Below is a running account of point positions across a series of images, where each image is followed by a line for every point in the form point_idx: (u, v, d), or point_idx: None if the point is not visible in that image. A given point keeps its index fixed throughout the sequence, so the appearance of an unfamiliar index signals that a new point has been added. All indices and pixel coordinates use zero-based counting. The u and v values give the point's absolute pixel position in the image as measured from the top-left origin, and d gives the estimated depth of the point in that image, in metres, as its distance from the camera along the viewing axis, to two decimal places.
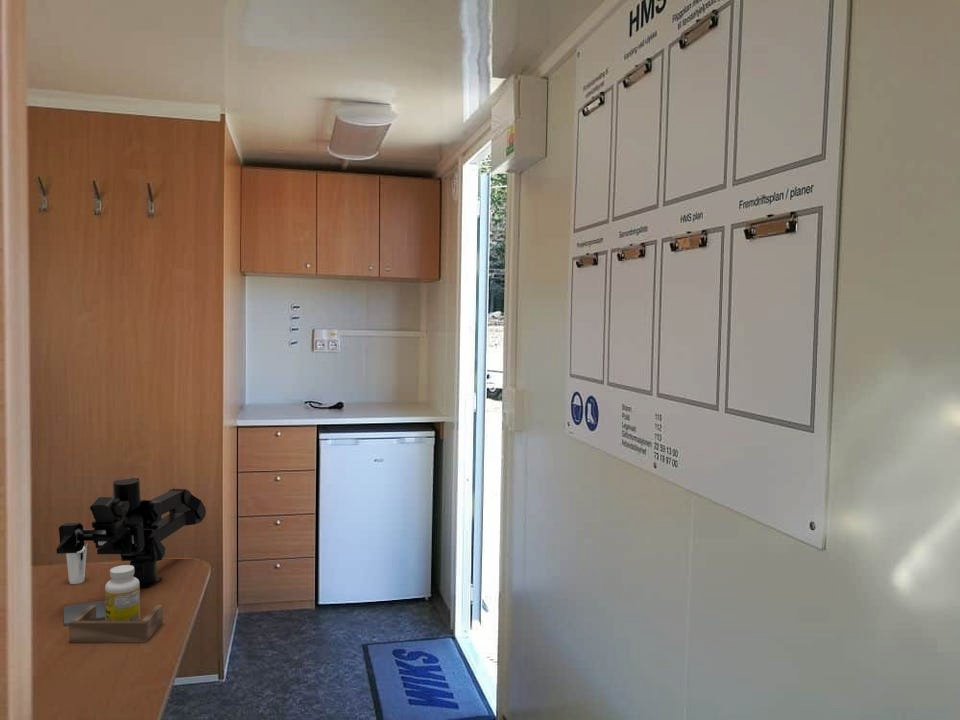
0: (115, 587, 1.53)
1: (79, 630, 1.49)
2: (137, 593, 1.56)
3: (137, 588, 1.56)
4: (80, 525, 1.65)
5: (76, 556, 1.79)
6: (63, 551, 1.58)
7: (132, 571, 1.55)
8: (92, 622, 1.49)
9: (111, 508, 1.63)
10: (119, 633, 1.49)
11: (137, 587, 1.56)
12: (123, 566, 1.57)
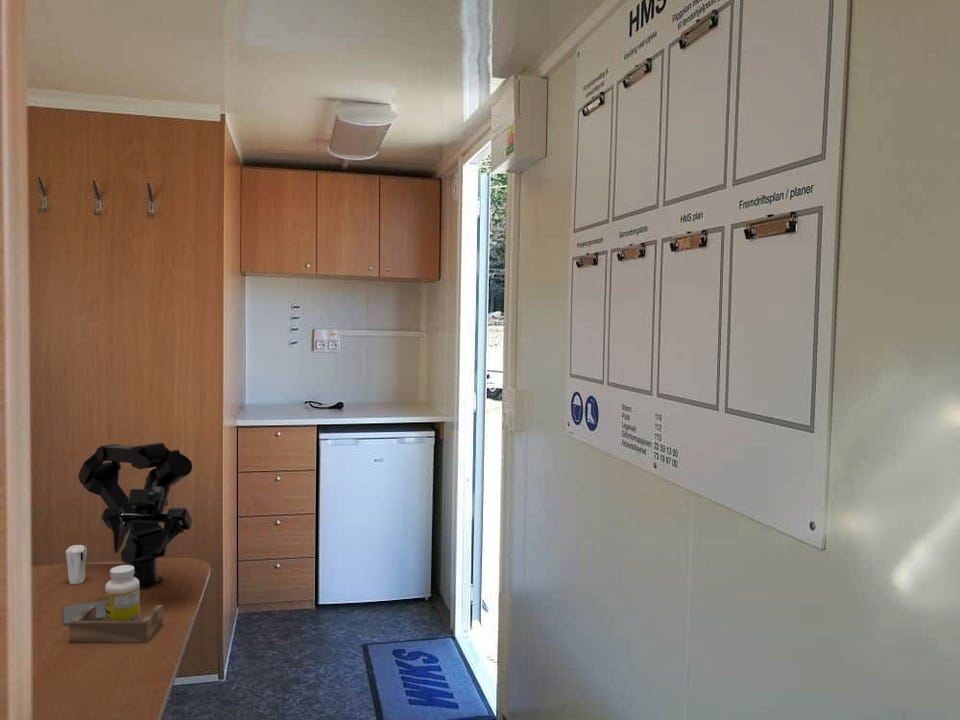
0: (115, 587, 1.53)
1: (79, 630, 1.49)
2: (137, 593, 1.56)
3: (137, 588, 1.56)
4: (121, 510, 1.68)
5: (76, 556, 1.79)
6: (119, 547, 1.65)
7: (132, 571, 1.55)
8: (92, 622, 1.49)
9: (150, 501, 1.65)
10: (119, 633, 1.49)
11: (137, 587, 1.56)
12: (123, 566, 1.57)
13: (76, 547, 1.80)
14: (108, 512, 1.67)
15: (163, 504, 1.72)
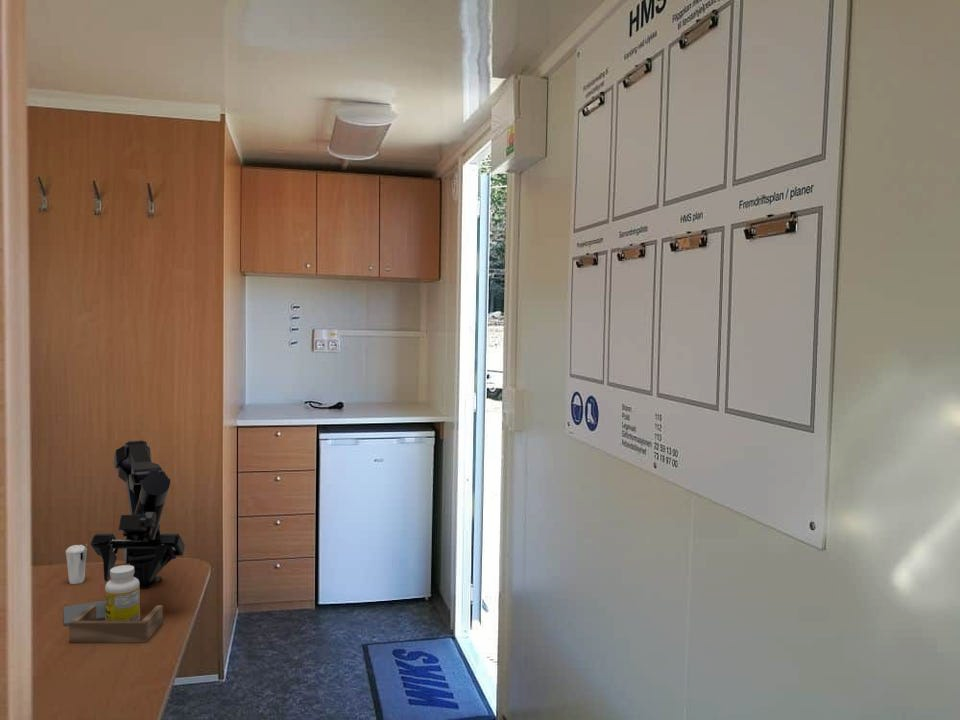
0: (115, 587, 1.53)
1: (79, 630, 1.49)
2: (137, 593, 1.56)
3: (137, 588, 1.56)
4: (111, 536, 1.62)
5: (76, 556, 1.79)
6: (109, 574, 1.60)
7: (132, 571, 1.55)
8: (92, 622, 1.49)
9: (142, 527, 1.60)
10: (119, 633, 1.49)
11: (137, 587, 1.56)
12: (123, 566, 1.57)
13: (76, 547, 1.80)
14: (98, 538, 1.61)
15: (155, 529, 1.66)
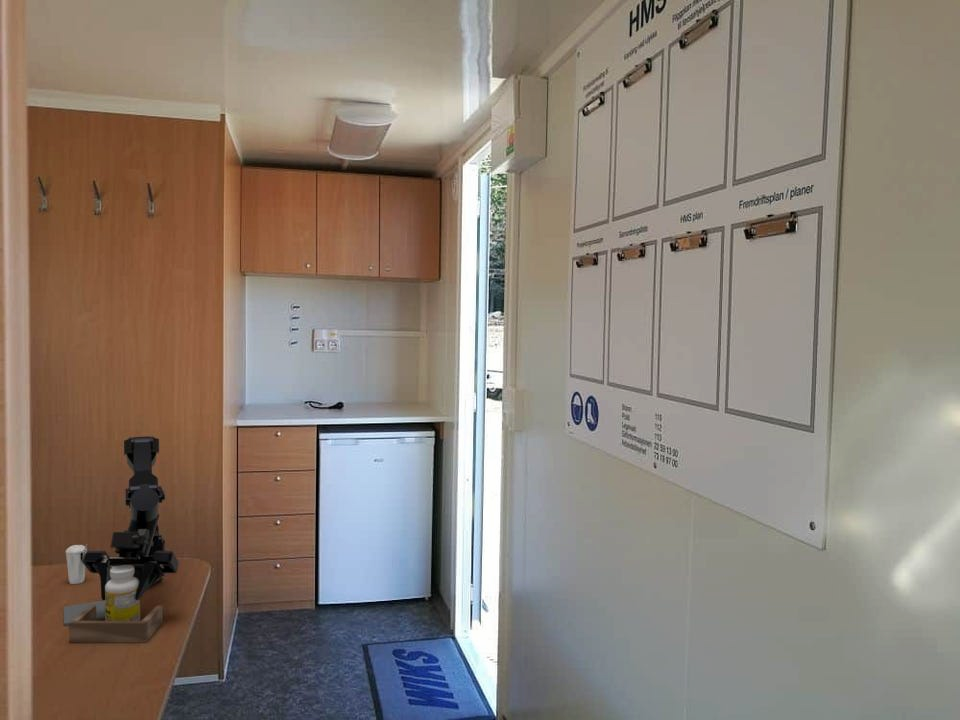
0: (115, 587, 1.53)
1: (79, 630, 1.49)
2: None
3: (137, 588, 1.56)
4: (103, 553, 1.59)
5: (76, 556, 1.79)
6: None
7: (132, 571, 1.55)
8: (92, 622, 1.49)
9: (134, 545, 1.56)
10: (119, 633, 1.49)
11: (137, 587, 1.56)
12: (123, 566, 1.57)
13: (76, 547, 1.80)
14: (89, 556, 1.57)
15: (148, 546, 1.63)
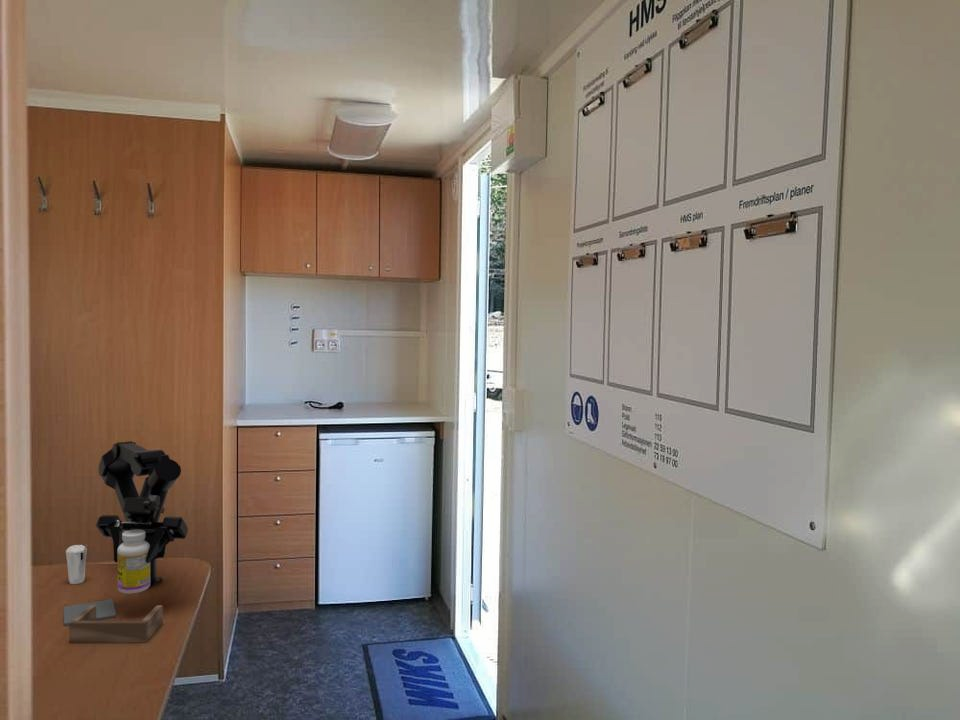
0: (127, 550, 1.59)
1: (79, 630, 1.49)
2: None
3: None
4: (116, 518, 1.65)
5: (76, 556, 1.79)
6: None
7: (143, 535, 1.62)
8: (92, 622, 1.49)
9: (145, 510, 1.62)
10: (119, 633, 1.49)
11: (148, 550, 1.62)
12: (135, 530, 1.63)
13: (76, 547, 1.80)
14: (103, 520, 1.64)
15: (159, 512, 1.69)
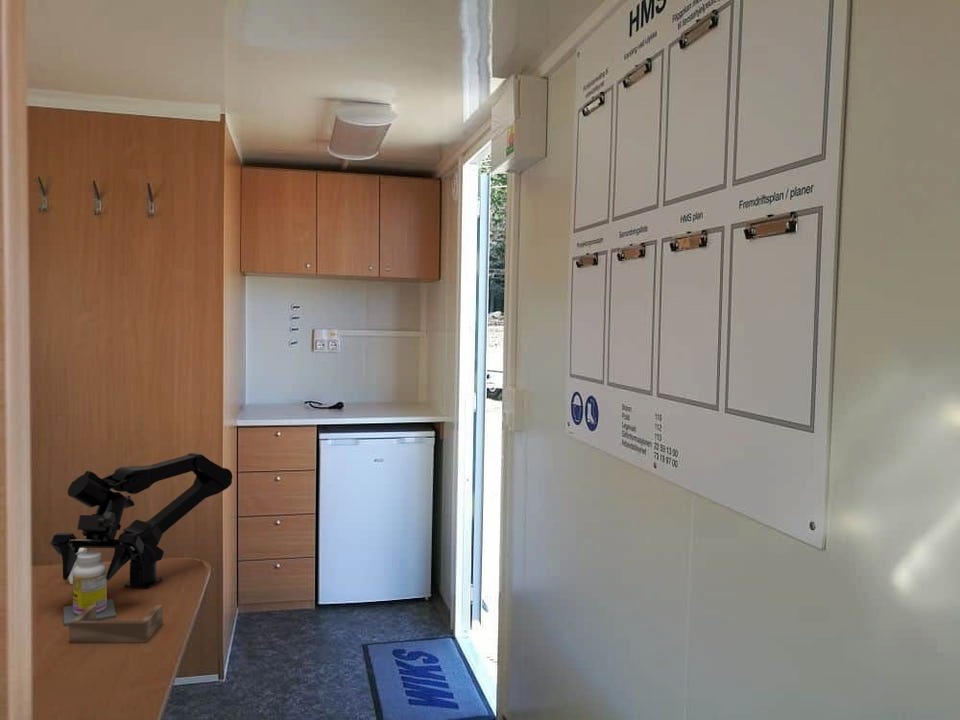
0: (82, 571, 1.60)
1: (79, 630, 1.49)
2: (103, 578, 1.63)
3: (103, 573, 1.63)
4: (70, 535, 1.65)
5: None
6: (69, 573, 1.63)
7: (99, 556, 1.62)
8: (92, 622, 1.49)
9: (100, 527, 1.63)
10: (119, 633, 1.49)
11: (103, 572, 1.63)
12: (90, 552, 1.64)
13: None
14: (57, 538, 1.64)
15: (115, 529, 1.69)
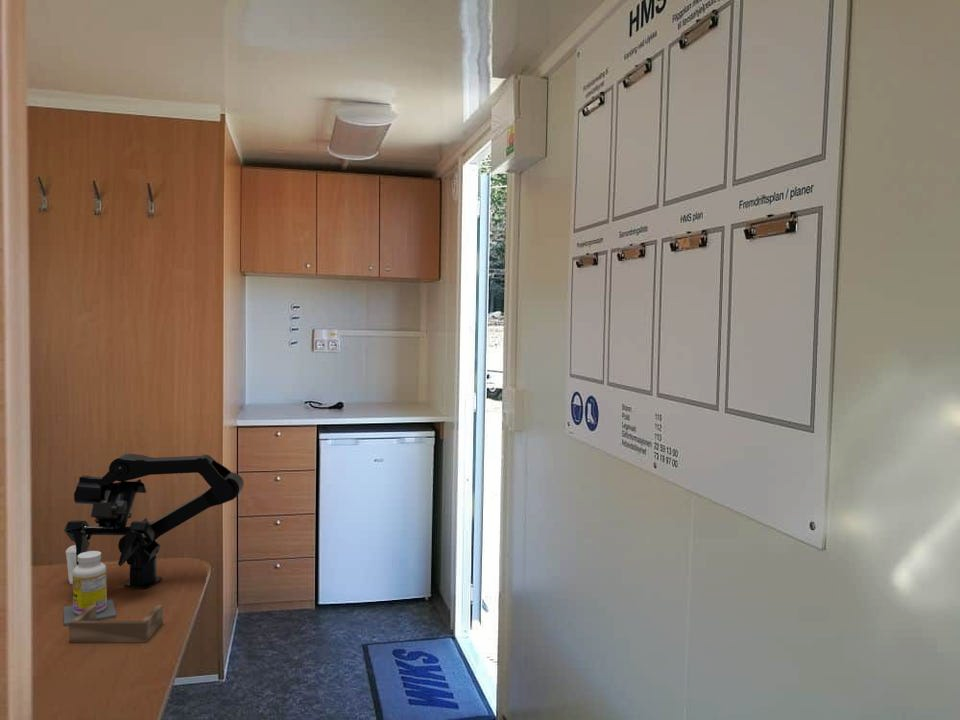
0: (82, 571, 1.60)
1: (79, 630, 1.49)
2: (103, 578, 1.63)
3: (103, 573, 1.63)
4: (84, 523, 1.71)
5: None
6: None
7: (99, 556, 1.62)
8: (92, 622, 1.49)
9: (113, 515, 1.69)
10: (119, 633, 1.49)
11: (103, 572, 1.63)
12: (90, 552, 1.64)
13: None
14: (71, 525, 1.70)
15: (126, 517, 1.75)
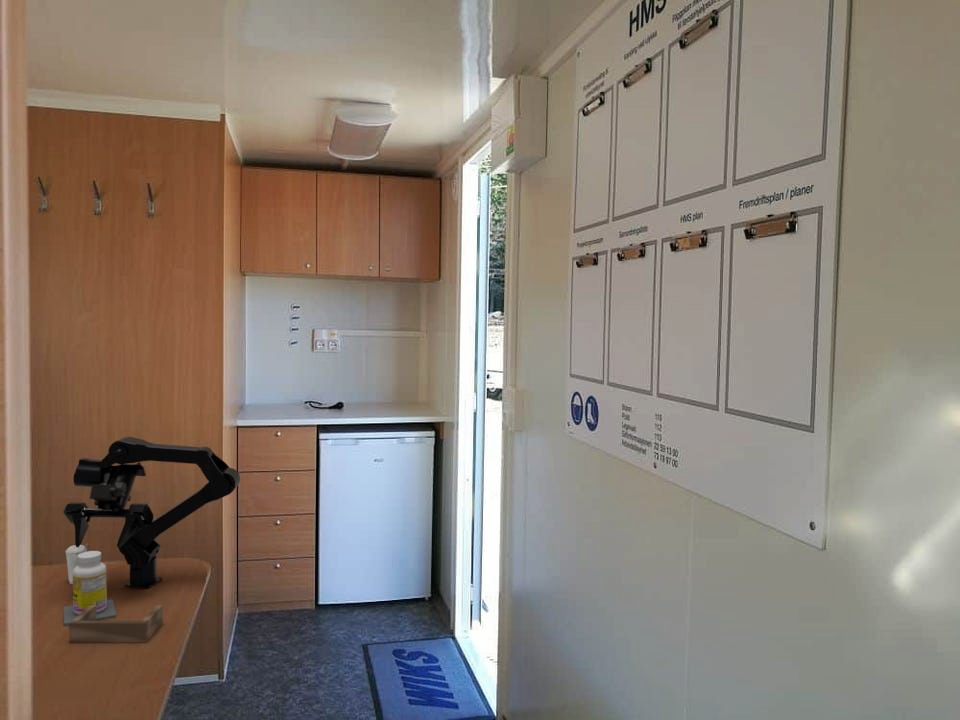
0: (82, 571, 1.60)
1: (79, 630, 1.49)
2: (103, 578, 1.63)
3: (103, 573, 1.63)
4: (83, 505, 1.71)
5: (76, 556, 1.79)
6: (81, 541, 1.68)
7: (99, 556, 1.62)
8: (92, 622, 1.49)
9: (111, 497, 1.68)
10: (119, 633, 1.49)
11: (103, 572, 1.63)
12: (90, 552, 1.64)
13: (76, 547, 1.80)
14: (70, 507, 1.70)
15: (125, 500, 1.75)
